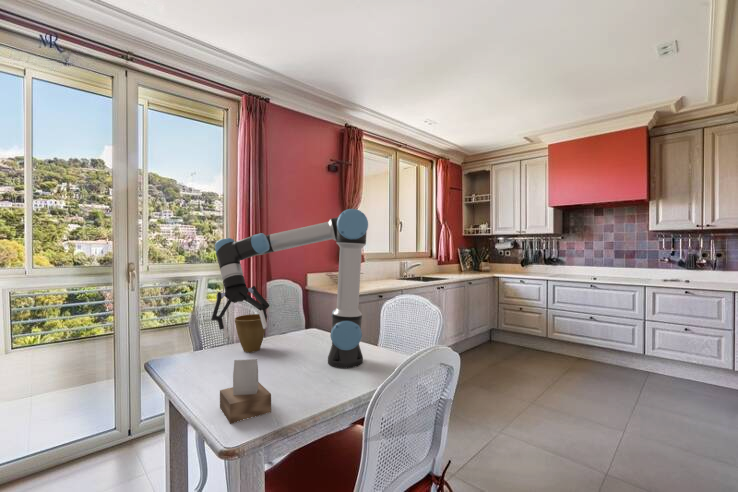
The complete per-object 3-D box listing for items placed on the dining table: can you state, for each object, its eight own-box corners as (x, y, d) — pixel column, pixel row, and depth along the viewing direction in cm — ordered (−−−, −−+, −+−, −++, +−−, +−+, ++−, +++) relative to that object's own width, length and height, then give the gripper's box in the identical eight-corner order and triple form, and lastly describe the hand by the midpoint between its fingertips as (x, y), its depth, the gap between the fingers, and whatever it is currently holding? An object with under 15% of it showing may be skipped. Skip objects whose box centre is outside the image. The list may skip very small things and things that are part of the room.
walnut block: (258, 399, 118) (257, 381, 118) (271, 413, 109) (271, 393, 109) (219, 409, 111) (219, 390, 111) (230, 425, 102) (230, 404, 102)
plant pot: (254, 344, 182) (254, 312, 182) (273, 349, 173) (273, 316, 173) (228, 351, 170) (228, 317, 170) (247, 357, 161) (247, 321, 161)
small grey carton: (256, 394, 108) (256, 361, 108) (233, 395, 107) (232, 362, 107) (258, 388, 112) (258, 357, 112) (235, 390, 111) (235, 358, 111)
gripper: (263, 276, 143) (277, 327, 137) (195, 287, 129) (207, 344, 122) (268, 269, 138) (283, 321, 131) (198, 279, 123) (210, 339, 117)
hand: (246, 332), depth 127 cm, fingers open, 13 cm apart
